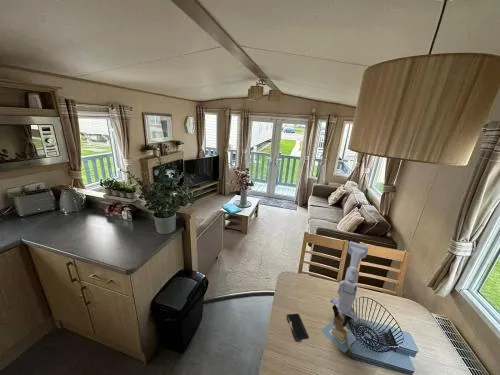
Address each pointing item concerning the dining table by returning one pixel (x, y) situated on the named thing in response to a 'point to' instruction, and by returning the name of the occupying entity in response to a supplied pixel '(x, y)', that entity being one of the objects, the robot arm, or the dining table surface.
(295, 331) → the phone
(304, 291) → the dining table surface
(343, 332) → the maple base block
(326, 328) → the board
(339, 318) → the walnut block
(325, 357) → the dining table surface
